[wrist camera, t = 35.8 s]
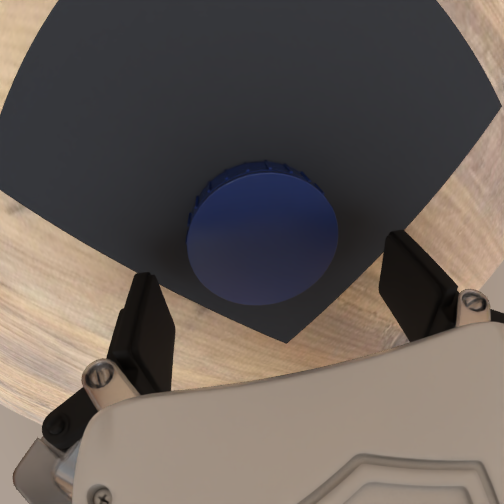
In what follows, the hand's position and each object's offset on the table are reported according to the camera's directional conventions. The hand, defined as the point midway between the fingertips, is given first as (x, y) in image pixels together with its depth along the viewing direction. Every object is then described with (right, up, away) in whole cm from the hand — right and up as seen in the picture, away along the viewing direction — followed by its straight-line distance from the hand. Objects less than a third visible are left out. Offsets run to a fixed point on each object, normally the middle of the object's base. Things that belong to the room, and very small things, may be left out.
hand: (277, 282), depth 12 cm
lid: (-1, +2, +1) cm, 2 cm away
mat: (-1, +7, -1) cm, 7 cm away
